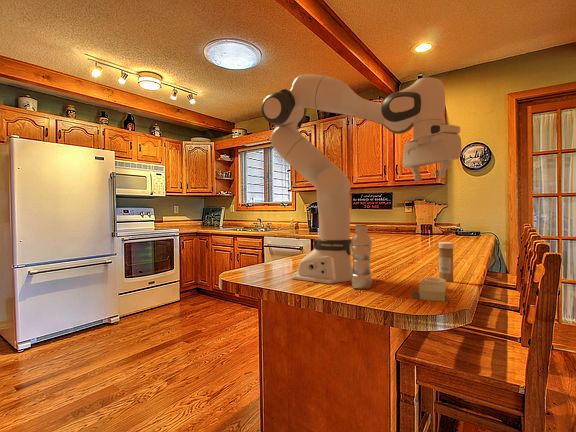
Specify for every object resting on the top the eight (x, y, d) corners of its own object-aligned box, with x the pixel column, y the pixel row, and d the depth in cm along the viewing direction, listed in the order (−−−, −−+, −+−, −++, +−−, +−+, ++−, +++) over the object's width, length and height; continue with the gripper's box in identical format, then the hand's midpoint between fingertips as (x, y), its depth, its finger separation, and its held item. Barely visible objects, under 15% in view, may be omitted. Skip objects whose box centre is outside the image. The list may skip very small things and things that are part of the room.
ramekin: (422, 292, 93) (422, 281, 93) (421, 287, 99) (421, 276, 99) (447, 294, 90) (447, 282, 90) (444, 289, 97) (444, 277, 96)
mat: (412, 300, 85) (412, 298, 85) (411, 293, 92) (411, 291, 92) (449, 304, 82) (449, 301, 82) (445, 296, 89) (445, 294, 89)
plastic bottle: (351, 291, 95) (351, 225, 95) (350, 285, 102) (350, 224, 101) (373, 291, 94) (373, 225, 94) (370, 286, 101) (370, 224, 100)
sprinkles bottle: (456, 282, 105) (456, 242, 105) (448, 284, 103) (449, 243, 103) (443, 279, 109) (443, 241, 109) (435, 281, 107) (435, 242, 106)
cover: (420, 299, 84) (420, 290, 84) (418, 292, 91) (418, 284, 91) (444, 301, 82) (444, 292, 82) (441, 293, 89) (441, 285, 89)
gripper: (397, 140, 103) (398, 181, 103) (447, 123, 84) (447, 175, 84) (413, 141, 105) (413, 182, 105) (465, 125, 86) (465, 175, 86)
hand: (429, 179), depth 95 cm, fingers open, 8 cm apart
